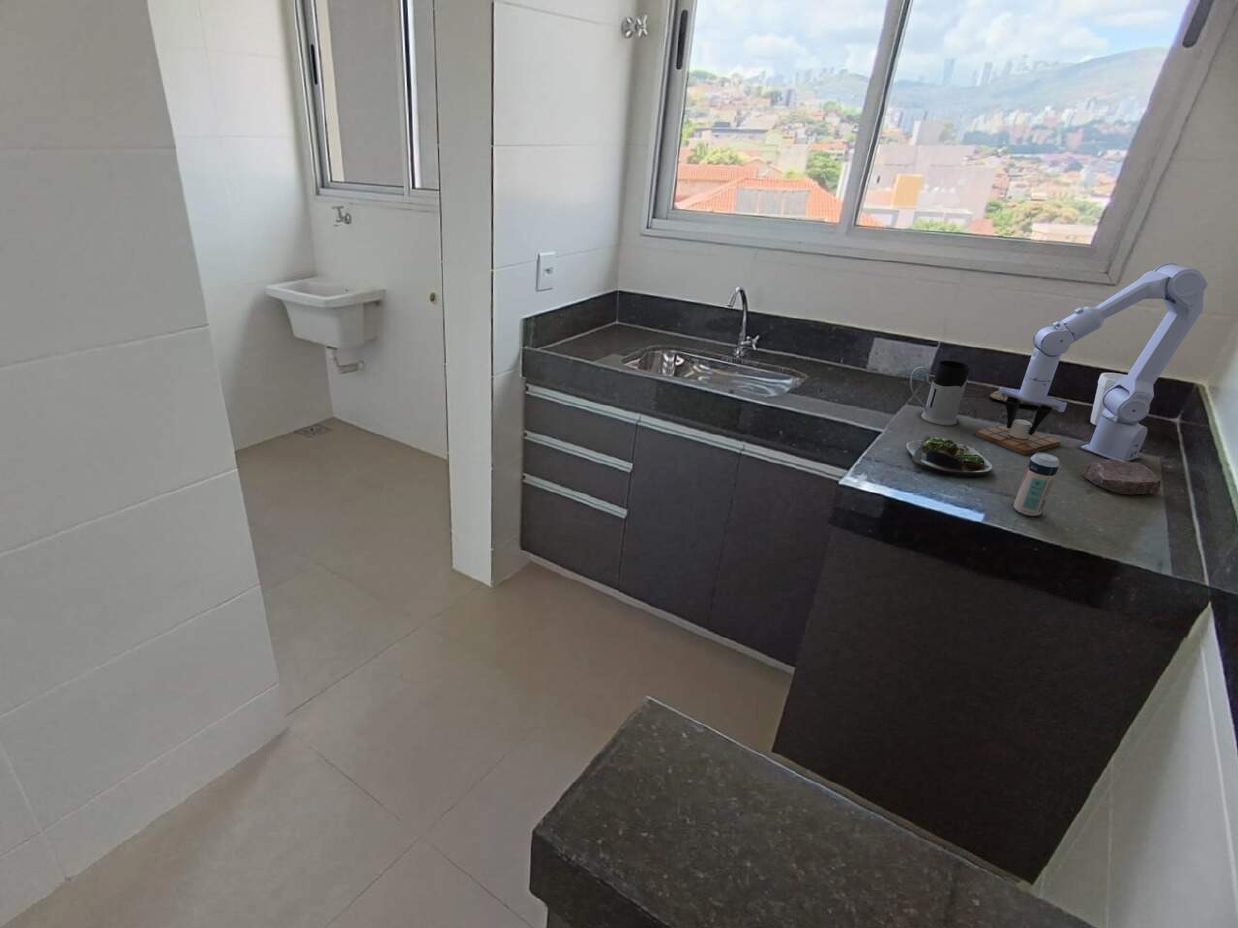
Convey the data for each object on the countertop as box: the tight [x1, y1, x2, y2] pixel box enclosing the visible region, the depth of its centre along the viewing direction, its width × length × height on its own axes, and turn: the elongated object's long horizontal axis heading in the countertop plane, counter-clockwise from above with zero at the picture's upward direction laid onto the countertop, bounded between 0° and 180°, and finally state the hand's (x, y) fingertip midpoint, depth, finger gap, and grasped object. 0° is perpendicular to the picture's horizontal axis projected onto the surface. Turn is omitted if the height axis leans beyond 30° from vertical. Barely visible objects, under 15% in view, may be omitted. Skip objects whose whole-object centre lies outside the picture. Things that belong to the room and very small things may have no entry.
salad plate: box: [906, 434, 994, 479], centre depth 150 cm, size 19×18×5 cm
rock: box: [989, 390, 1036, 406], centre depth 190 cm, size 13×10×4 cm
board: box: [976, 424, 1061, 456], centre depth 164 cm, size 13×15×1 cm
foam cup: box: [1089, 372, 1128, 426], centre depth 175 cm, size 10×9×13 cm
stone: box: [1084, 459, 1162, 495], centre depth 142 cm, size 9×12×5 cm
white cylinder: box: [1009, 418, 1033, 439], centre depth 163 cm, size 4×4×4 cm
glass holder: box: [909, 359, 971, 426], centre depth 172 cm, size 9×14×15 cm, turn 83°
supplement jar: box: [1013, 452, 1060, 517], centre depth 127 cm, size 5×5×12 cm
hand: (1020, 430), depth 163 cm, fingers closed on white cylinder, 4 cm apart
